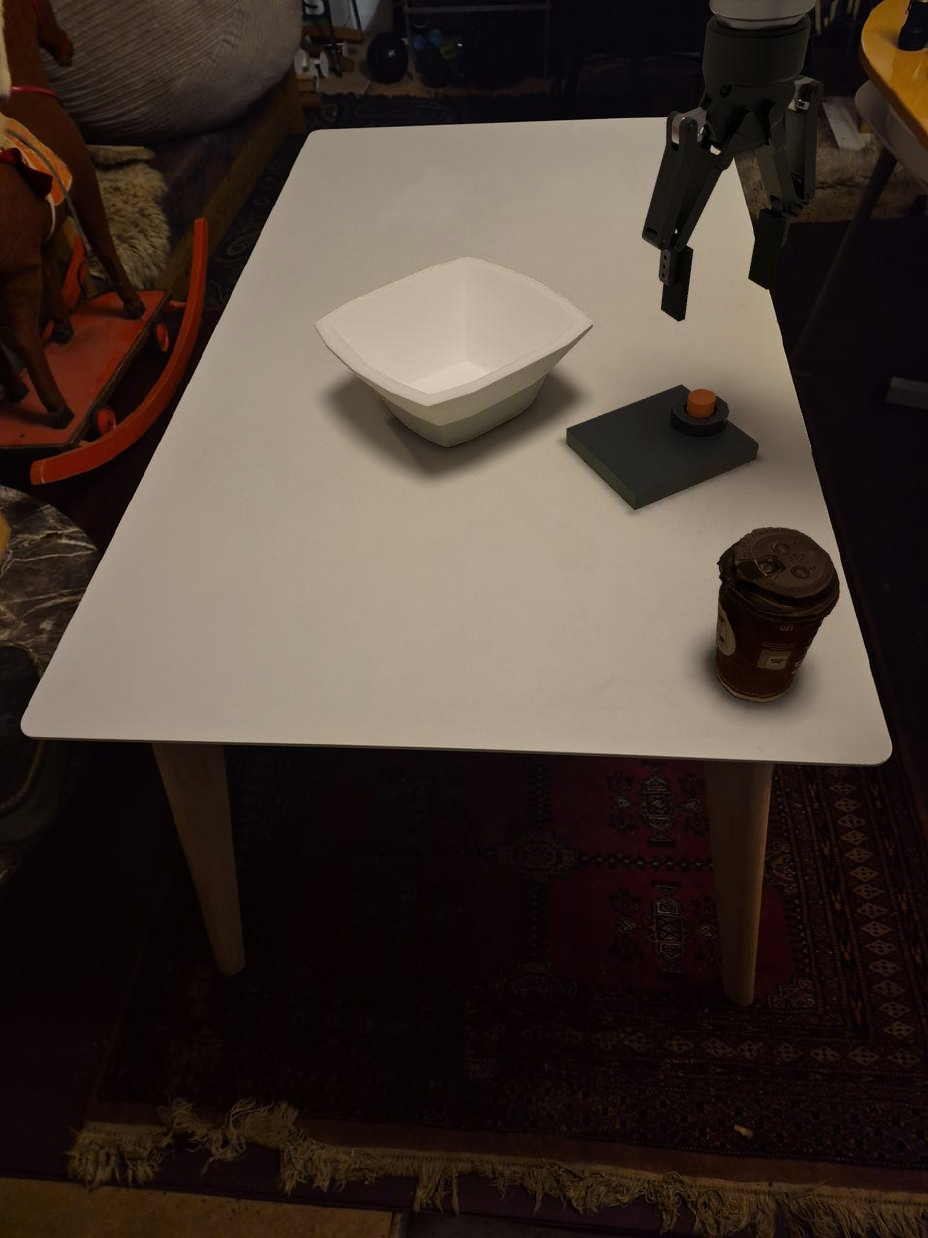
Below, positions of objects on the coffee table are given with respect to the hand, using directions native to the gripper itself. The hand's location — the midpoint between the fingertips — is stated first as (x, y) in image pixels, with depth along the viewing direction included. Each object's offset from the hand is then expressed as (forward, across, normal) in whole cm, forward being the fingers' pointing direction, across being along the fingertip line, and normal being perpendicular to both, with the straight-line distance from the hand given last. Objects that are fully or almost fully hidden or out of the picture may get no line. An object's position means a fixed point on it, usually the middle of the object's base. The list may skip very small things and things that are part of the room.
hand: (717, 298), depth 80 cm
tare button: (+12, 0, 0) cm, 12 cm away
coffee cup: (+16, +16, +28) cm, 36 cm away
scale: (+16, +5, 0) cm, 16 cm away
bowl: (+16, +19, -20) cm, 32 cm away
